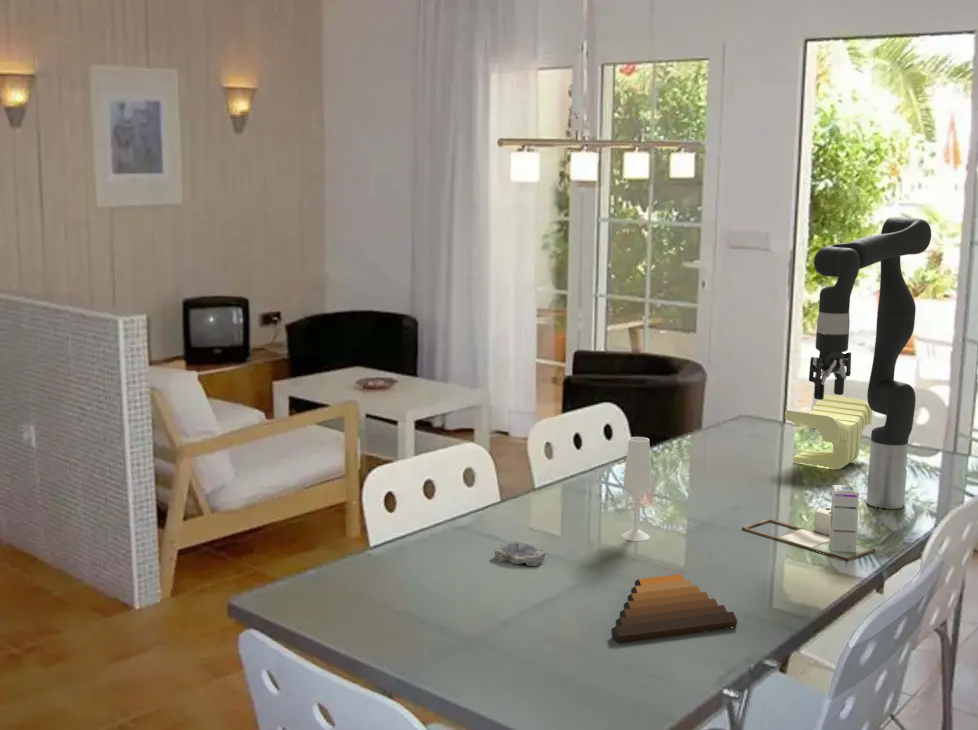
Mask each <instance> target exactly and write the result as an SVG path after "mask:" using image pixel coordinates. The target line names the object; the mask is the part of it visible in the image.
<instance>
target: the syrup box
mask: <svg viewBox="0 0 978 730" xmlns="http://www.w3.org/2000/svg"><path fill="white" fill-rule="evenodd" d="M831 491H832V492H831V506H830V508H831V524H830V535H829V536H830V548H831V551H838V552H850V553H856V544H857V543H858V542H857V540H858V539H857V538H858V525H859V524H858V521H859V520H858V518H859V500H860V499H859V497H860V493H859V489H858V486H856V485H848V484H833V485H832V489H831Z"/></svg>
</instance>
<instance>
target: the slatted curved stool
mask: <svg viewBox="0 0 978 730" xmlns="http://www.w3.org/2000/svg"><path fill="white" fill-rule="evenodd" d="M811 409H812V410H810V411H809V412H803V411H802V412H801V411H794V410H787V409H785V412H784V420H785V421H788V422H791V423H794V424H795V425H801V426H806V427H809V428H813V429H816V430H817V431H818V433H819V434H820V435H821V439H822V442H825V443H832V444H831V445H832V447H833V451H822V450H814V449H813V450H812V449H808V448H807V449H805V450H804V451H802V452H800V453H798V454H797V455H794V457H793V461H792V463H793V462H797V463H805V464H812V465H819V466H824V467H829V468H833V469H838V470H840V469H843V468H844V467H846V466H847V465H849V464H850V463H852V462H854V461H855V460H856V459H858V457H859V455H860V449H861V448H860V447H861V443H862V435H863V431H864V430H865V428H866V426H868V425H872V416H873V415H872V414H873V410H871V408H870V407H869V404H868V400H865V399H862V398H855V397H850V396H849V397H848V396H843V395H835V394H834V395H833V394H828V393H827V394H825V393H824V398H823V399H822V400H818V399H817V401H816V403H815V405H814V406H813V407H812V408H811ZM838 470H837V471H838Z"/></svg>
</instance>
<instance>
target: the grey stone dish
mask: <svg viewBox="0 0 978 730" xmlns="http://www.w3.org/2000/svg"><path fill="white" fill-rule="evenodd" d="M494 554H495V555H494V556H495V557H494V558H495V559H496V560H497V561H498V562H501V563H504V562H506V561H508V562H510V563H512V564H515V565H517V564H524V563H525V564H526V566H529V567H530V566H531V567H538V566H541V565H542V564H543V561H544V559H545V555H546V551H544V550H543V549H542V548H540V547H538V546H537V545H535V544H533V543H530V542H525V541H515V542H510V543H508V542H507V543H505V544H504V543H502V544H500V546H499V547H497V548H495V549H494Z"/></svg>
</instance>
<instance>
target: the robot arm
mask: <svg viewBox="0 0 978 730" xmlns="http://www.w3.org/2000/svg"><path fill="white" fill-rule="evenodd" d="M931 241H932V228H931V225H930V224H929V222H928V221H926V220H924V219H922V218H917V217H902V216H890V217H888V218H886V220H885V221H884V222H883V225H882V228H881V232H880V234H872V235H866V236H863V237H859V238H856V239H853V240H852V241H851V240H850V242H843V243H841V242H840V243H836V244H829V245H826V246H823V247H821V248H820V249H819V250H818V251H817V252H816V254H815V256H814V259H813V266H814V270H815V271H816V272H817V273H818V274H819V275H821V276H824V277H831V278H837V280H836V282H835V284H834V285H831V286H825V287H822V288H821V289H820V293H819V301H818V315H817V320H816V330H815V331H816V333H815V349H816V350H818V351H819V355H818V357H816V356H811V357H810V363H809V372H808V373H809V375H808V381H809V382H812V383H813V384H814V386H813V387H814V391H813V398H814V399H815V400H817V401H818V400H822V399H823V398H824V394H825V382H826V380H827V379H828V378H829V377H830V376H831V374H833V376H834V378H835V379H834V384H833V387H834V388H833V393H834V395H836V396H843V395H844V392H845V391H844V390H845V381H846V379H847V378H848V377H851V369H852V368H851V367H852V352H850V351H848V350H849V342H850V341H849V339H850V321H851V320H850V303H851V295H852V291H853V289H854V286H855V283H856V280H857V277H858V274H859V272H860V269H861V270H862V269H864V268H866V267H869V266H872V265H874V264H876V263H880V282H879V283H880V284H879V294H878V305H877V314H876V331H875V341H874V350H873V351H874V353H873V359H872V365H871V372H870V376H869V381H868V387H867V393H866V394H867V397H866V399H867V402H868V404H869V407H870V408H871V410H872V412H874V413H878V414H881V415H885V416H886V418H885V422H884V425H883V426H877V427H874V428H873V429H872V430H871V433H870V434H871V435H870V436H871V437H870V448H869V449H870V450H869V451H870V452H869V460H868V461H869V462H868V464H869V465H868V475H867V476H868V477H867V491H866V501H865V502H866V504H867V503H868V504H869V506H870V505H871V506H870V507H873V506H874V507H873V508H877V507H879V508H878V509H882V508H886V509H885V510H897V509H902V508H903V506H904V504H905V497H906V496H905V495H906V483H907V474H908V473H907V471H908V470H907V462H908V461H907V460H908V450H909V449H908V448H909V447H908V446H909V439H910V438H909V437H910V435H911V434H912V430H913V425H914V417H915V409H916V401H917V400H916V399H917V398H916V392H915V390H914V387H913V386H912V385H911V384H908V383H905V382H902V381H897V380H895V369H896V363H897V360H898V358H899V356H900V354H901V352H903V349H904V348H905V347H906V345H907V344H908V343H909V341H910V339H911V338H912V336H913V333H914V330H915V322H916V321H915V320H916V312H917V311H916V310H917V309H916V307H917V306H916V302H915V300H914V296H913V295H912V293H911V291H910V289H909V287H908V285H907V283H906V281H905V278H904V275H903V272H902V268H901V267H902V266H901V265H902V264H901V257H902V256H906V255H907V256H908V255H918V254H919V255H920V254H922V253H923V252H925V251H926V250H927V248H928V247H929V245H930V243H931ZM845 367H846V368H845ZM868 504H867V505H868Z"/></svg>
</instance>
